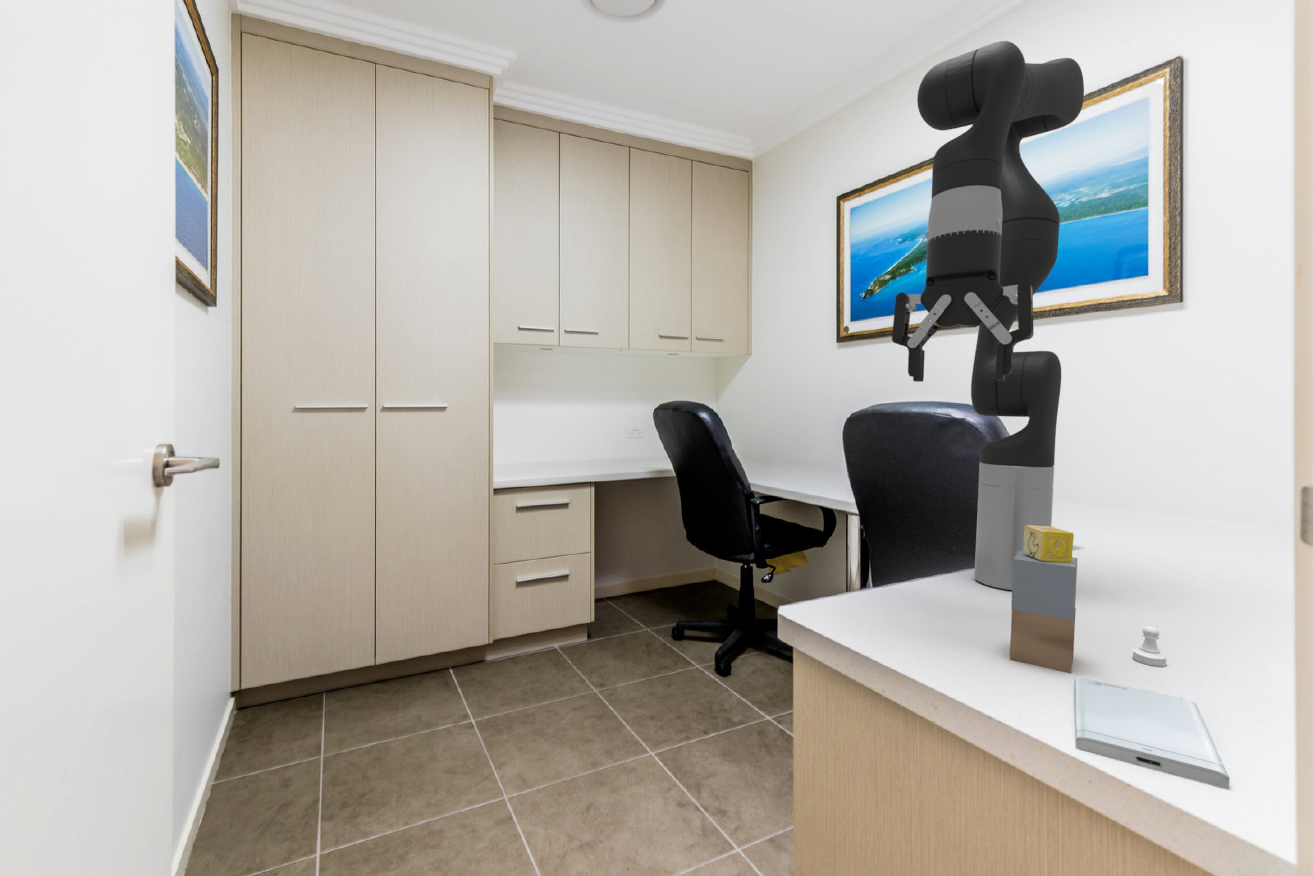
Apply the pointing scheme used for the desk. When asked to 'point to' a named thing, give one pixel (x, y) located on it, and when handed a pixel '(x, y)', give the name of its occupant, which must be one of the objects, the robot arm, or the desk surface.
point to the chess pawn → (1150, 649)
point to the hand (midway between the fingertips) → (957, 380)
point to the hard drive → (1146, 730)
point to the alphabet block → (1048, 543)
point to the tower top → (1044, 586)
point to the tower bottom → (1042, 640)
